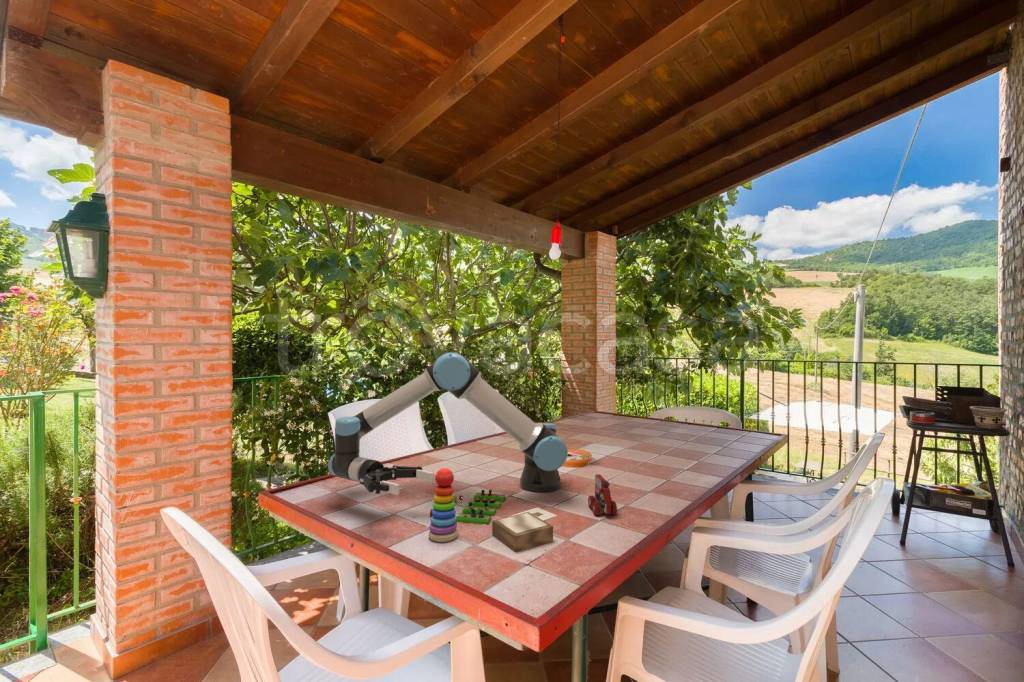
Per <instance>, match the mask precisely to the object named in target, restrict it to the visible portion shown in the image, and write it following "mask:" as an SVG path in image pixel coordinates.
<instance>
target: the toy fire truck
mask: <svg viewBox="0 0 1024 682" xmlns="http://www.w3.org/2000/svg"><path fill="white" fill-rule="evenodd" d="M594 482H595V487H594V495H589V496H588V498H587V504H588V508H589V509H590V510H592V514H593V516H599V515H601V513H605V515H612V516H615V515H617V513H618V512H617V511H618V507H617V503H616V501H615V500H613V499H612V497H611V495H612V494H611V490H610V482H609V481H607V480H606V479H605V478H604V476H602V474H599V473H598V474H595V476H594Z"/></svg>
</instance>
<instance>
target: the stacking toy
mask: <svg viewBox="0 0 1024 682" xmlns="http://www.w3.org/2000/svg"><path fill="white" fill-rule="evenodd" d="M454 479H455V475H454V473H453V471H452V470H451V469H449V468H445V467H444V468H440V469H439V470H438V471H436V474H435V476H434V480H435V483H436V485H437V486H435V488H434V492H435V494H434V495H433V500H434V502H433V503H432V507H434V508H432V509H433V510H432V515H433V516H432V517H430V523H429V527H428V528H429V531H428V538H429V539H430V540H431V541H434V542H438V543H444V542H445V543H447V542H450V541H453V540H455V539H457V537H458V535H459V531H458V529H457V527H458V523H457V522H456V520H457V517H456V516H457V515H456V508H455V507H456V504H455V502H454V500H453V499H454V495H455V494H453V493H454V486H452V484H453V482H454Z"/></svg>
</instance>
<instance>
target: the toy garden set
mask: <svg viewBox="0 0 1024 682" xmlns="http://www.w3.org/2000/svg"><path fill="white" fill-rule="evenodd" d="M485 491H486V490H485V489H481V492H476V493H475V494H474V495H473V499H472V498H471V499H470V501H468V504H467V505H465V506H464V508H462V511H461V513H457V515H456V517H457V520H456V523H457V522H463V523H462V524H470V523H473V524H472V525H482V524H486V525H485V526H489V524H490V523H491V521H492V517H491V516H494V517H495V515H496V514H497V510H499V509H500V508H501V506H502V503H504V501H505V500H504V499H506V495H505V494H500V493H498V494H497V493H492V492H493V491H492V489H489V490H488V493H486V492H485ZM453 495H454V499H453V500H454V502H455V503H456V504H457V502H458V501H459V500H460V501H461V500H462V501H463V498H464V496H463V495H462V494H461V495H458V497H457V495H456V494H453ZM461 497H463V498H461ZM457 498H458V499H457ZM457 500H458V501H457ZM460 501H459V502H460ZM462 501H461V502H462ZM500 505H501V506H500ZM432 507H433V506H432ZM499 507H500V508H499ZM433 508H434V507H433ZM433 508H431V509H430V511H429V517H430V518H431V517H432V516H433V515H432V510H433ZM495 513H496V514H495ZM490 520H491V521H490ZM489 522H490V523H489Z"/></svg>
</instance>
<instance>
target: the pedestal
mask: <svg viewBox="0 0 1024 682" xmlns="http://www.w3.org/2000/svg"><path fill="white" fill-rule="evenodd" d="M517 514H518V513H517ZM513 515H514V516H512V515H509V516H510V517H508V516H506V517H501V518H498V519H493V520H491V530H492V531H491V534H492V535H491V536H493V537H494V538H495V539H497V540H498V541H500V542H501V543H502V544H503V545H505V546H506V547H508V548H509V549H510V550H512V551H513V552H515V553H517V552H520V551H523V550H527V549H530V548H534V547H537V546H541V545H544V544H548V543H552V542H554V526H553V525H552V524H550V523H548V522H546V520H545V521H543V520H541V519H539V518H538V517H536V516H534V515H533V514H531V513H529V512H526V513H522V514H518V515H515V514H513Z"/></svg>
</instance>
